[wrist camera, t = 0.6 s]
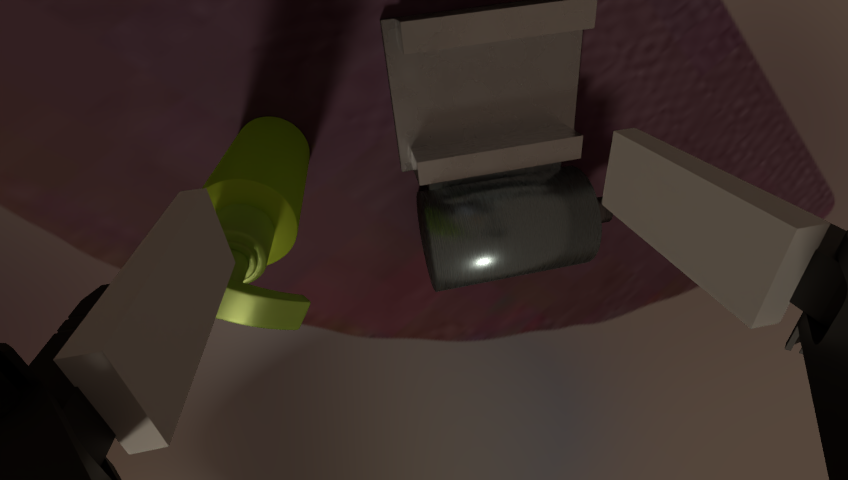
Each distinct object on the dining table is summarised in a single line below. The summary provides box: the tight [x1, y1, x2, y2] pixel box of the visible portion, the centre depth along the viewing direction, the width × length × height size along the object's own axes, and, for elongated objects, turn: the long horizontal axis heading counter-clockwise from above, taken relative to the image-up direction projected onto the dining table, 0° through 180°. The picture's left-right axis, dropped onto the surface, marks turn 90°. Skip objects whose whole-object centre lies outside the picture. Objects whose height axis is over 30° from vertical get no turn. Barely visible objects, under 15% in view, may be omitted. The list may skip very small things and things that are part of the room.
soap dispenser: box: [202, 116, 311, 330], centre depth 27 cm, size 6×7×20 cm
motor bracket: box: [380, 0, 613, 292], centre depth 35 cm, size 22×18×9 cm
